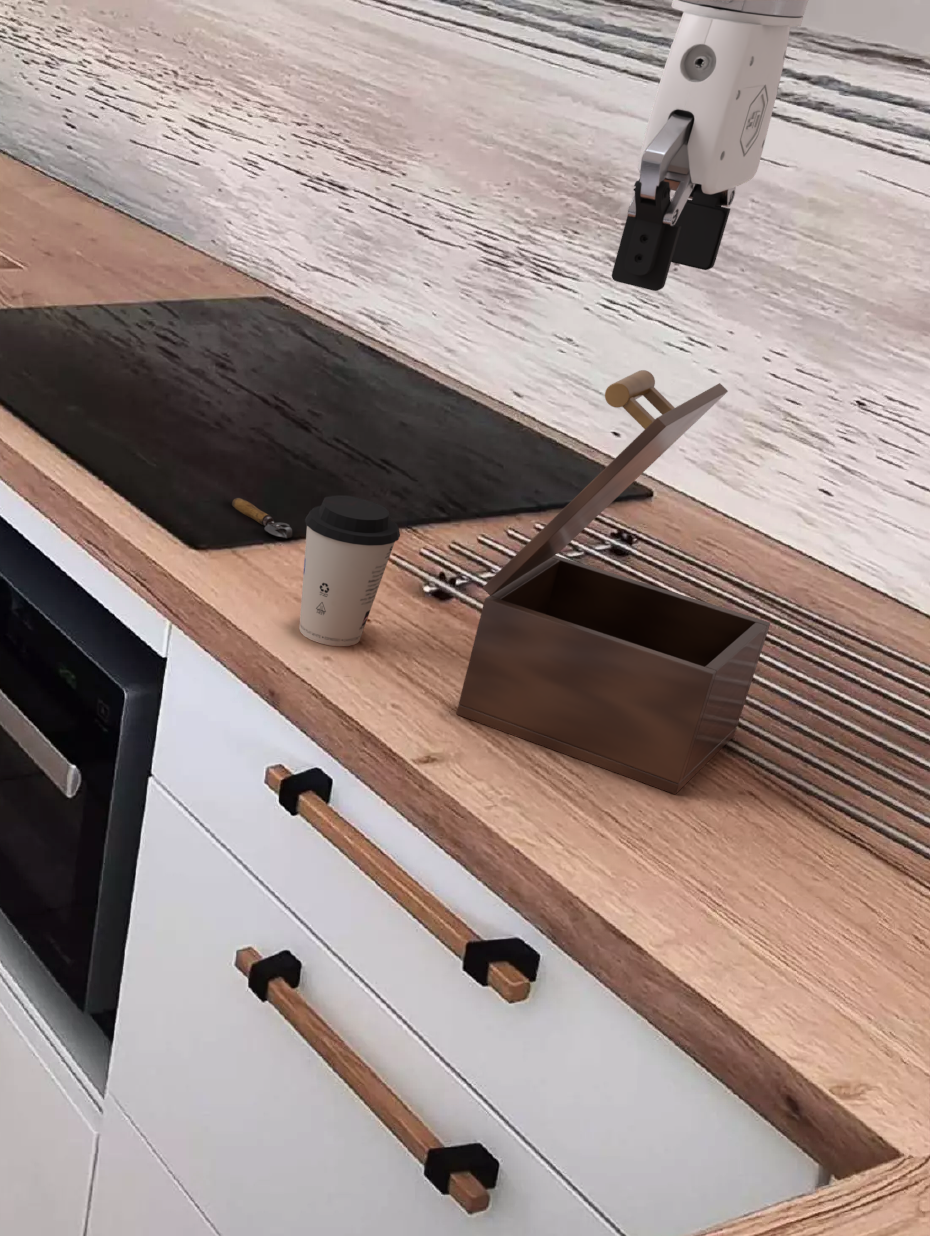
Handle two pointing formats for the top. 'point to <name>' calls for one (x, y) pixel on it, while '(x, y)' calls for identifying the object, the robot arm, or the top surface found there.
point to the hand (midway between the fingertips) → (662, 274)
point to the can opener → (262, 518)
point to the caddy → (611, 671)
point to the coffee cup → (343, 567)
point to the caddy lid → (612, 468)
